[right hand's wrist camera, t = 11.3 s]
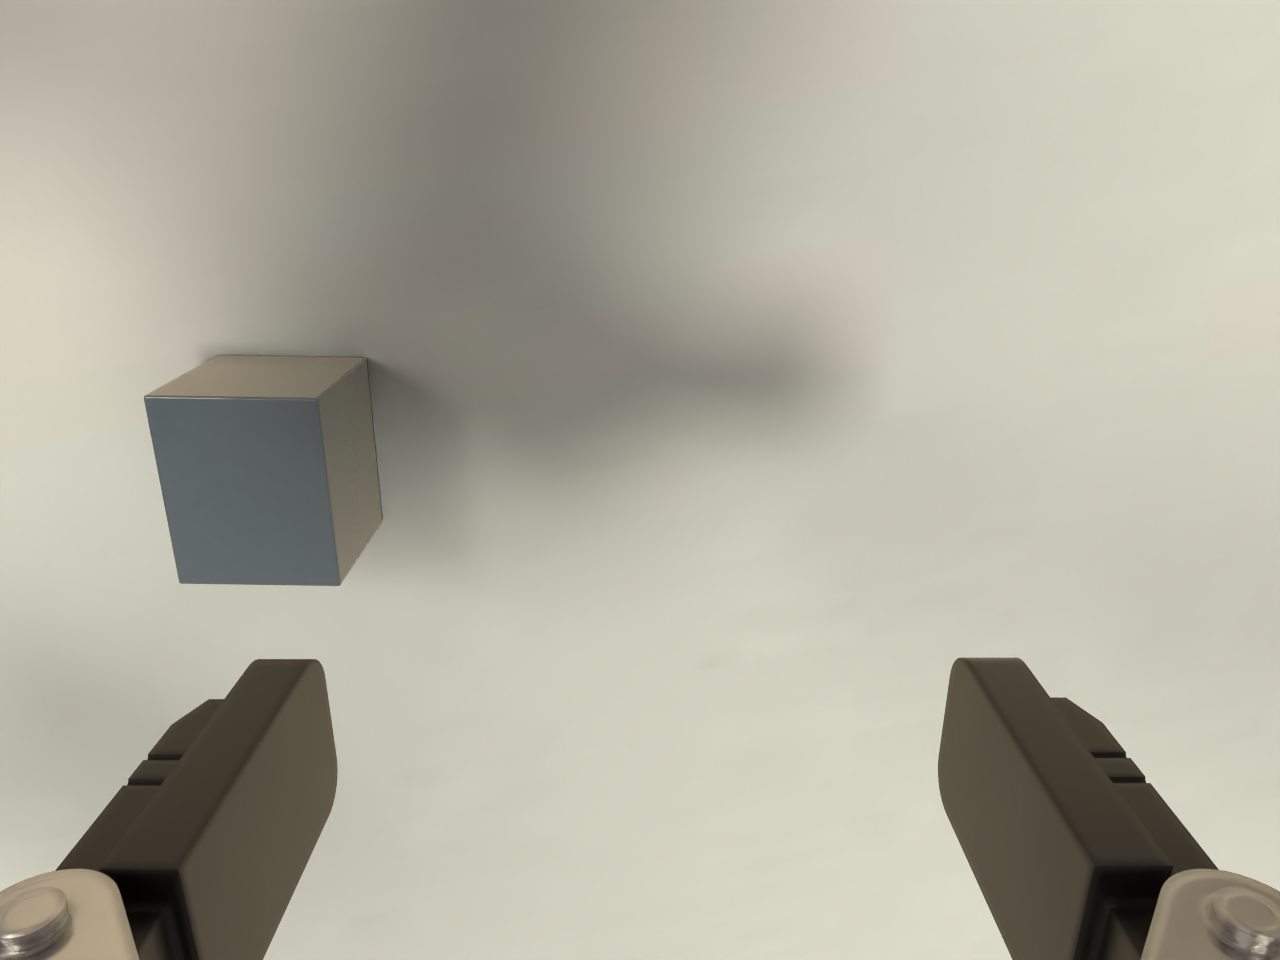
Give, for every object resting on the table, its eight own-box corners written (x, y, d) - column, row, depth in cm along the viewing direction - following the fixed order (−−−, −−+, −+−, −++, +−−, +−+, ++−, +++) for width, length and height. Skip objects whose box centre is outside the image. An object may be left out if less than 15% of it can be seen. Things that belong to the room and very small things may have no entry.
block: (243, 520, 27) (178, 584, 24) (217, 354, 26) (142, 395, 22) (383, 522, 27) (340, 587, 24) (367, 356, 26) (317, 398, 22)
